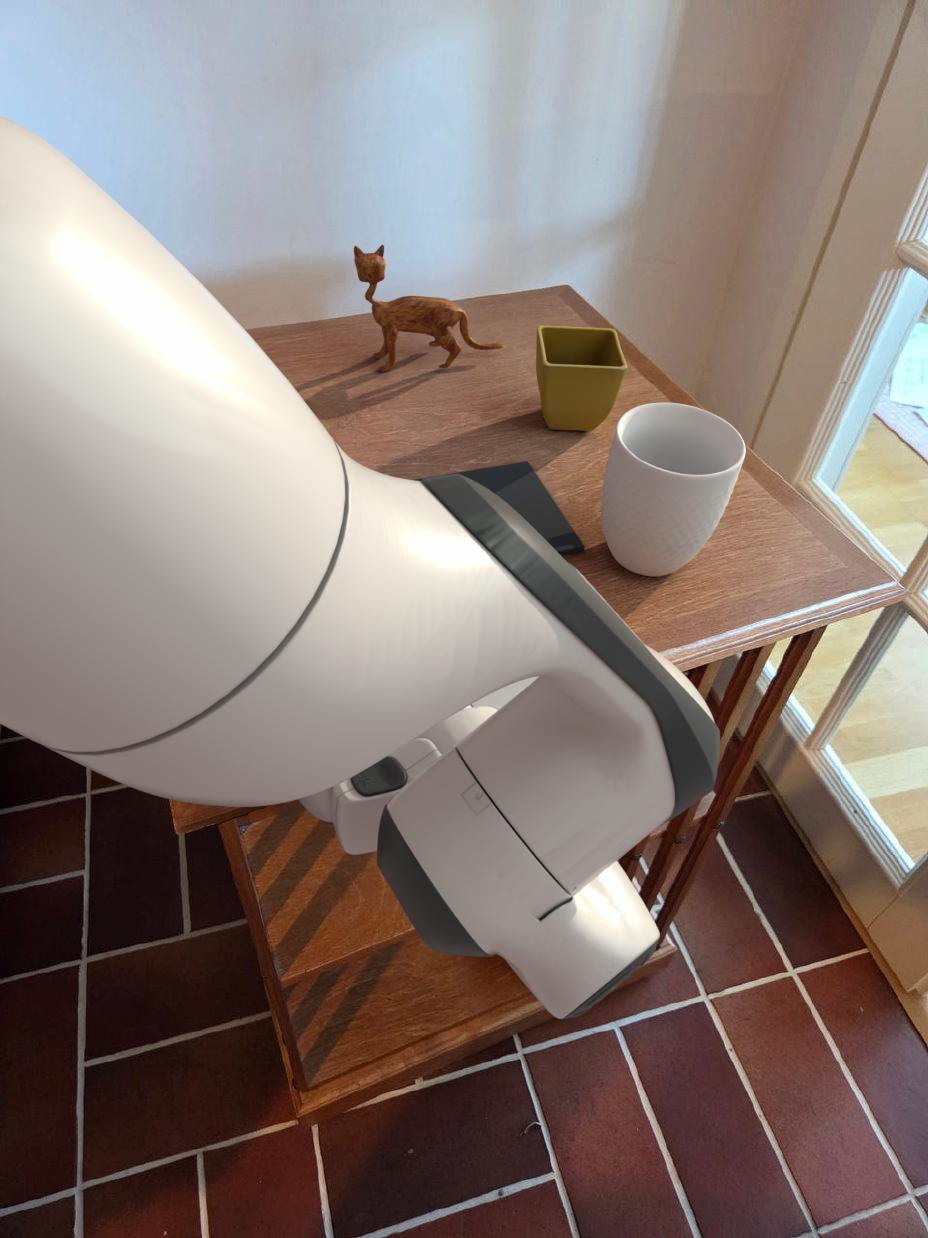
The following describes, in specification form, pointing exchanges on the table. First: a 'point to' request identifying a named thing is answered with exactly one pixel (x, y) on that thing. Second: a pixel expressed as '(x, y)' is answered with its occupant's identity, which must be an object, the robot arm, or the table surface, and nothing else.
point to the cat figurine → (412, 314)
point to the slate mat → (528, 502)
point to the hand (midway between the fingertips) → (363, 635)
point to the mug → (667, 484)
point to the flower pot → (578, 375)
